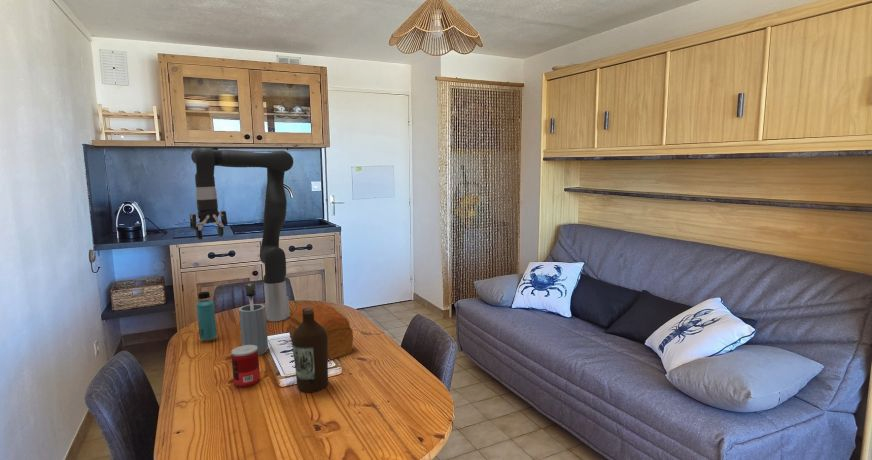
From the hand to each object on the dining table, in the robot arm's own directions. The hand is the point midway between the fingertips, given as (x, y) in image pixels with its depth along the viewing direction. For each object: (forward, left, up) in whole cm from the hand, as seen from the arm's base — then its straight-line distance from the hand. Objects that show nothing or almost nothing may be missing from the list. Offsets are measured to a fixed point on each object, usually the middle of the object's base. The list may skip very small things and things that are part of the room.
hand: (210, 237), depth 193 cm
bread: (-12, +50, -40) cm, 65 cm away
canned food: (+20, +52, -40) cm, 69 cm away
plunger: (+4, +32, -38) cm, 50 cm away
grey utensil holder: (+4, +32, -40) cm, 51 cm away
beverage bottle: (+8, +6, -40) cm, 41 cm away
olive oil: (+10, +72, -40) cm, 83 cm away
